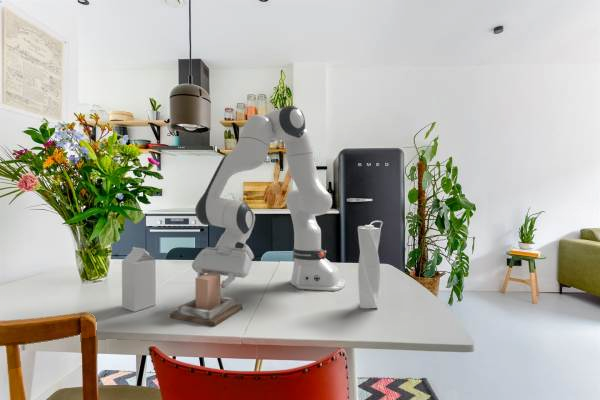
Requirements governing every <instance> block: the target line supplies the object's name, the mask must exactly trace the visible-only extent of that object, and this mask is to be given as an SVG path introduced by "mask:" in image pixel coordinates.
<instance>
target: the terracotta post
mask: <svg viewBox="0 0 600 400" xmlns="http://www.w3.org/2000/svg"><path fill="white" fill-rule="evenodd" d="M220 296H221V275H218V274H210V273H208V274H207V273H205V275H203V276H200V277H198V276H197V277H195V299H196V308H198V309H204V310H211V309H213V308H215V307H217V306H218V305H220Z"/></svg>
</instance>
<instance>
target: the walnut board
mask: <svg viewBox="0 0 600 400" xmlns="http://www.w3.org/2000/svg"><path fill="white" fill-rule="evenodd" d="M243 306H244V305H242V304H239V303H236V298H234V297H233V298H232V297H226V296H221V295H220V305H218V306H217V307H215V308H213V309H211V310H204V309H198V308H196V298H194V299H193V300H190V301H187V302H185V303H184V304H181V305H179V306H178V307H177V310H175V311H172V312H170V313H169V318H171V319H176V320H181V321H186V322H191V323H196V324H200V325H207V326H209V327H210V326H212V327H216V326H218V325H220V324H221V323H222V322H225V321H226V320H227V319H229V318H230V317H232V316H234V315H235V314H237V313H238V312H240V311H242V310H243V308H244V307H243Z"/></svg>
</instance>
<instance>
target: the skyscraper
mask: <svg viewBox="0 0 600 400" xmlns="http://www.w3.org/2000/svg"><path fill="white" fill-rule="evenodd" d="M375 223H381V224H380V227H375V225H372V224H375ZM383 224H384V222H383V221H382V220H379V219H377V220H373V221H371V222H370V224H365V225H359V226H358V227H357V235H358V236H357V237H358V245H359V257H358V269H357V280H358V281H357V282H358V283H357V285H358V295H359V296H358V297H359V307H360V309H369V308H377V309H376V310H378V309H379V307H378V305H377V304H378V301H379V300H378V299H379V294H380V293H379V291H380V284H381V281H380V280H381V265H380V264H381V263H380V257H379V252H378V251H379V245H380V239H381V233H382V232H381V231H382V226H383Z"/></svg>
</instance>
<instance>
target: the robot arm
mask: <svg viewBox="0 0 600 400" xmlns="http://www.w3.org/2000/svg"><path fill="white" fill-rule="evenodd" d="M275 141H283V144H284V146H285V154H286V161H287V167H288V172H289V176H290V178H291V179H292V180H293V182H294V183H295V186H296V188H297V189H294V190H291V191H290V192H289V193H288V194H287V195H286V199H285V204H286V207H287V209H288V210H289V214H290V216H291V217H290V218H291V220H292V226H293V233H294V234H293V239H294V240H293V242H294V243H293V244H294V246H293V249H292V251H293V252H292V261H293V267H292V274H291V279H290V280H289V281H290V282H289V283H290V284H291V285H292V286H295V287H296V288H297V289H301V290H314V291H327V292H328V291H333V292H334V291H339V290H342V289H343V288H344V287H345V286H346V280H345V279H342V278H340V277H341V276H340V271H339V269H338V267H337V266H336V265H335V264H333V263H332V262H331V261H330V260H328V259H327V258H326V255H327V254H326V253H327V250H324V249H323V248H322V231H321V230H322V229H321V227H320V226H319V224H318V222H317V220H316V217H317V216H321V215H325V214H327V213H328V212H330V210H331V209H332V206H333V199H332V195H331V194H330V192H328V190H326V188H325V187H324V185H323V183H322V181H321V178H320V176H319V173H318V170H317V165H316V159H315V158H316V157H315V154H314V153H315V152H314V148H313V143H312V140H311V137H310V133H309V131H308V130H307V129H306V119H305V115H304V113H303V111H302V110H301V109H300V108H299V107H298V106H296V105H286V106H284V107H281V108H278V109H275V110H272V111H271V112H269V113H267V114H265V115H262V114H252V115H250V116H249V117H248V118H247V120H246V122H245V124H244V125H243V128H242V130H241V132H240V134H239V138H238V141H237V142H236V145H235V147H234V148H233V149H232V150H231V151H230V152H229V153H226V154H225V155H224V156H223V157H222V159H221V160H220V162H219V164H218V166H217V167H216V169H215V171H214V173H213V176H212V178H211V179H210V181H209V183H208V186H207V188H206V189H205V190H204V193H203V194H202V196H201V197H200V199H198V202H197V203H196V206H195V209H194V210H195V211H194V212H195V217H196V218H197V220H198V221H199V223H201V224H202V225H204V226H205V225H206V226H213V227H214V226H215V227H218V228H219V227H220V228H225V231H224V232H223V233H222V234H221V236H220V237H219V240H218V242H217V243H216V245H215V246H214V247H211V246H207V247H205V248H203V249H202V250H201V251H200V252H199V253H198V254H197V255H196V257H195V259H194V260H193V261H192V263H191V268H192V269H193V270H194V271H195V272H196V273H197V277H200V276H203V275H206V274H208V273H210V274H218V275H220V276H225V277H226V276H227V278H226V279H225V280H221V282H220V288H222V289H228V287H229V285H230V284H232V282H234V280H236V278H241V279H243V278H246V277H247V276H249V273H250V270H251V267H252V264H253V262H252V260H253V259H254V258H255V255H254V253H253V251H252V249H251V248H250V247H249V245H248V244H246V241H247V240H248V239H249V238H250V237H251V236H250V235H251V234H252V231H253V229H254V226H255V221H256V214H255V213H254V211H252V209H251V207H250V206H249V205H248V203H246V202H244V201H241V200H235V199H229V198H225V197H221V196H222V193H223V191H224V189H225V187H226V186H227V184H228V181H229V180H230V178H231V177H232V176H234V175H236V174H238V173H241V172H246V171H251V170H255V169H257V168H259V167H261V166H262V165H264V163H265V162H266V160H267V157H268V153H269V150H270V146H271V143H273V142H275Z"/></svg>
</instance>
